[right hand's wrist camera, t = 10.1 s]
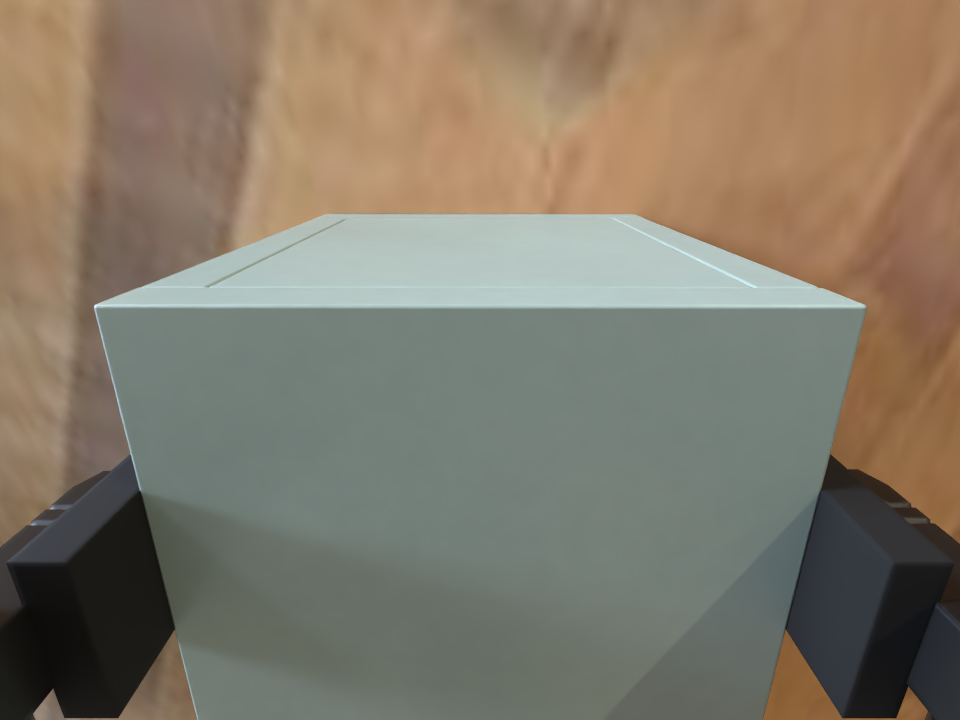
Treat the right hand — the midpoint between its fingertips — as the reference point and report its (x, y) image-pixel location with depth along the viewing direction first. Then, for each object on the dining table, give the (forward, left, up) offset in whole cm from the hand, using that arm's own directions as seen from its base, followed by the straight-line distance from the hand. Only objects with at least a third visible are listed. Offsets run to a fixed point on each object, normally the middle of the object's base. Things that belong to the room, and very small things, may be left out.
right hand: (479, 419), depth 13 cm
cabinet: (+2, -3, -7) cm, 8 cm away
